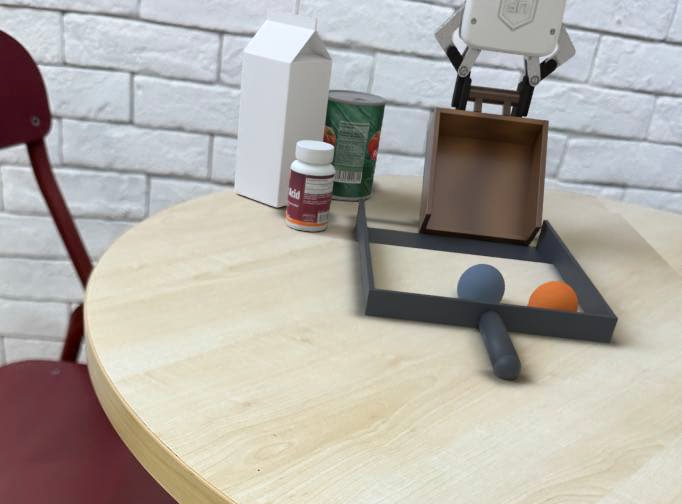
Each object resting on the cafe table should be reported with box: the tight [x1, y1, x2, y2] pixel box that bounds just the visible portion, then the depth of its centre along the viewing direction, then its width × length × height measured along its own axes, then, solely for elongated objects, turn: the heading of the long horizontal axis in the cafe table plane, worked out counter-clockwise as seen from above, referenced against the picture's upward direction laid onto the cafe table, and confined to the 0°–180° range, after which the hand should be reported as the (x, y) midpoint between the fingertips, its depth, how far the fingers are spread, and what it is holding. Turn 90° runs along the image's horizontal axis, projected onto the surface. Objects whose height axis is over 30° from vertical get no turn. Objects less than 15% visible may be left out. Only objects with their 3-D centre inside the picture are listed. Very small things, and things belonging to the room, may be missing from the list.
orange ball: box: [527, 280, 579, 312], centre depth 74 cm, size 4×4×4 cm
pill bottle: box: [284, 140, 335, 233], centre depth 92 cm, size 5×5×8 cm
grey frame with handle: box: [354, 198, 619, 381], centre depth 79 cm, size 38×21×3 cm, turn 177°
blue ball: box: [456, 263, 506, 303], centre depth 76 cm, size 4×4×4 cm
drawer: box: [417, 84, 550, 246], centre depth 94 cm, size 13×16×5 cm
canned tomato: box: [323, 89, 387, 202], centre depth 104 cm, size 8×8×11 cm
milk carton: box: [233, 8, 333, 208], centre depth 96 cm, size 7×7×19 cm
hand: (487, 117), depth 95 cm, fingers closed on drawer, 5 cm apart
